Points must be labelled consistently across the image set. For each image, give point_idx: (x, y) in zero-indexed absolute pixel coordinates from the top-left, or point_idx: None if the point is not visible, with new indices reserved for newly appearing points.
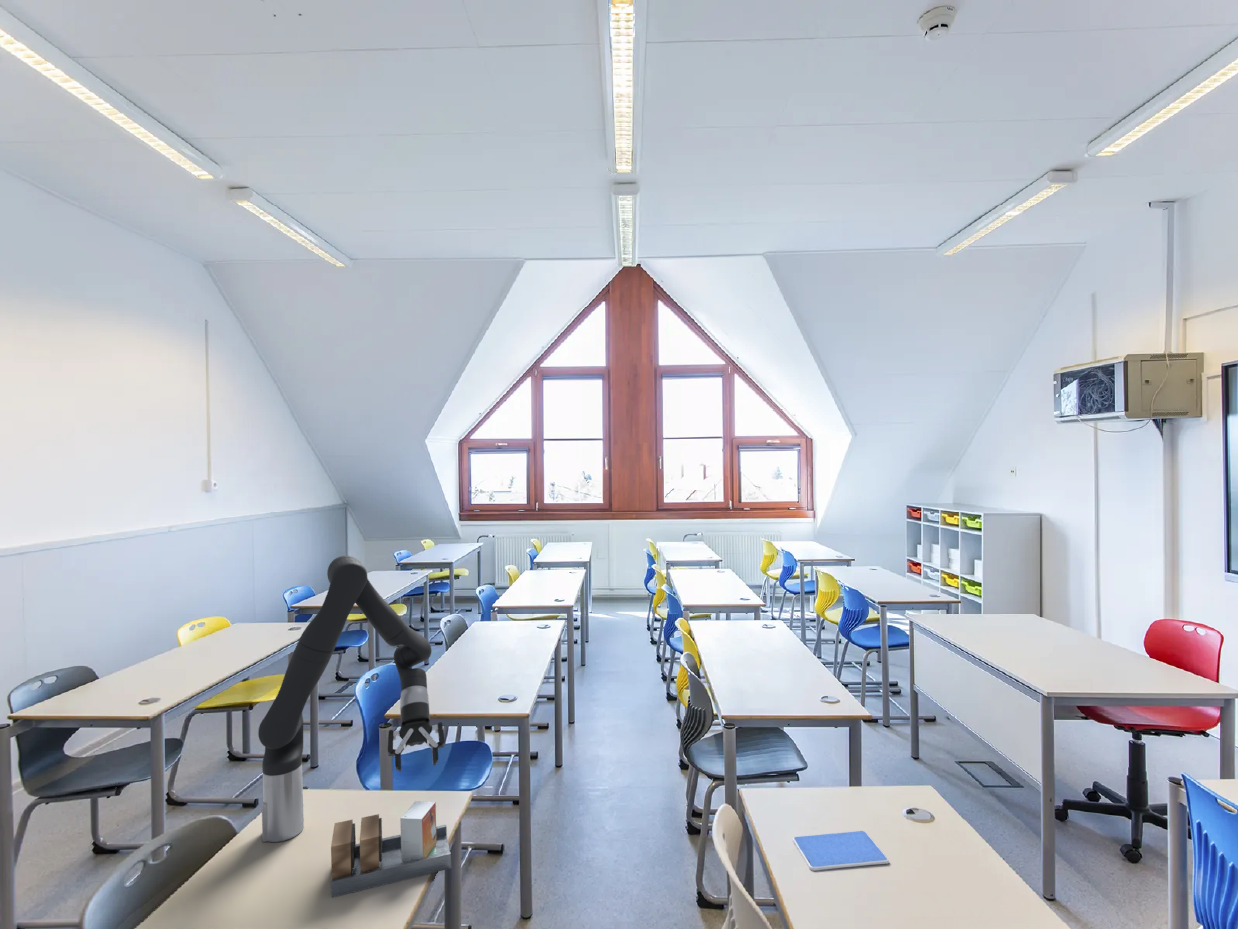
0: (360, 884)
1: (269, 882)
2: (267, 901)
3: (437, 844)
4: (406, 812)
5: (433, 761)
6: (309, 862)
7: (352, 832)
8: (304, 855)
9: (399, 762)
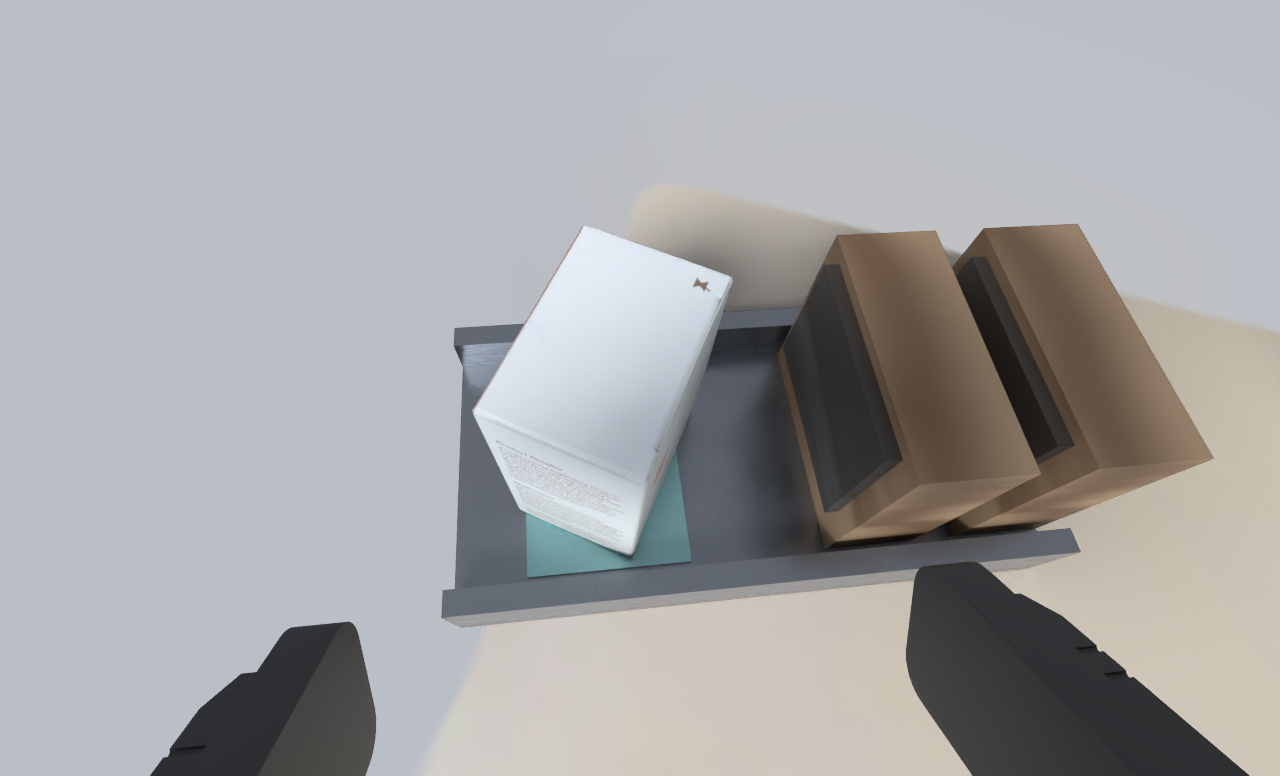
0: None
1: (1275, 506)
2: (1187, 383)
3: (515, 509)
4: (700, 334)
5: (332, 626)
6: (1179, 619)
7: (1022, 344)
8: (1253, 703)
9: (1022, 627)
